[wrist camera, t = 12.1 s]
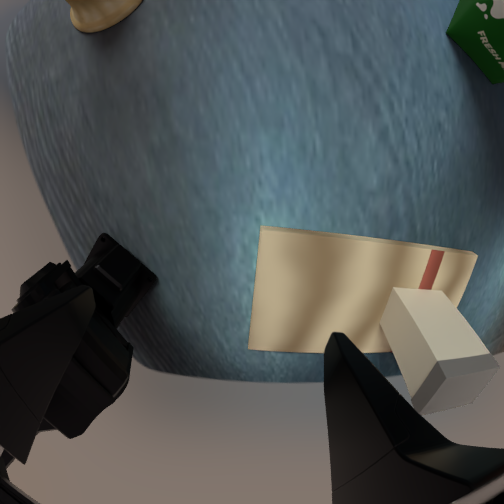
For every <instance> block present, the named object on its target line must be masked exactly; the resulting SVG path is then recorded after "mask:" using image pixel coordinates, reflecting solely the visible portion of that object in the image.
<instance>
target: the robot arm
mask: <svg viewBox="0 0 504 504" xmlns="http://www.w3.org/2000/svg"><path fill="white" fill-rule="evenodd" d="M103 237H104V238H105V240H106V241H105V240H104V239H103ZM70 266H71V265H70V264H69V262H68V260H66V261H65V262H64V263H63V264H61V263H58V264H57V265H56V264H54V263H51V262H49V263H48V264H47V265H46V266H44V267H43V268H42V269H41V270H39V271H38V272H37V273H35V274H34V275H33V276H32V277H30V278H29V279H28V280H26V281H25V282H24V283H23V284H22V285H21V287H20V297H19V298H18V299H17V302H18V303H17V304H16V305H15V306H14V307H13V309H12V311H13V314H10V315H8V316H5V317H3V318H0V504H40V503H38V502H37V501H36V500H34V499H33V498H31V497H29V496H28V495H27V494H25V493H24V492H23V491H22V490H20V489H19V488H18V487H16V486H15V485H14V484H12V483H11V482H10V480H9V477H8V474H7V470H6V469H7V468H8V466H9V465H10V464H11V463H12V462H13V461H14V459H15V458H16V459H17V460H19V461H20V462H21V463H23V464H25V463H26V461H27V458H28V455H29V452H30V450H31V446H32V444H33V442H34V439H35V436H36V435H37V434H38V433H39V432H43V431H50V430H59V431H60V432H61V433H62V434H63V435H65V436H66V437H67V438H69V439H71V438H74V437H77V436H79V435H82V434H83V433H84V432H85V430H86V429H87V428H88V426H89V425H90V424H91V423H92V421H93V420H94V419H95V418H96V417H97V416H98V415H99V414H100V413H101V412H102V411H103V410H104V409H105V408H106V407H108V406H110V405H111V404H113V403H114V402H115V400H116V399H117V398H118V397H119V396H120V395H121V394H122V393H123V391H124V390H125V388H126V386H127V384H128V381H129V375H130V368H131V361H132V354H133V346H132V345H131V344H130V343H129V342H127V341H126V340H125V339H124V338H123V336H122V335H121V334H120V333H119V332H118V331H117V327H118V326H119V324H120V323H121V321H122V320H123V318H124V317H127V316H128V315H129V314H130V312H131V311H132V310H133V309H134V307H135V306H136V305H137V304H138V302H139V301H140V300H141V299H142V297H143V296H144V295H145V294H146V292H147V291H148V290H149V289H150V287H151V286H152V285H153V284H154V282H155V281H156V275H155V274H154V273H152V272H151V271H150V270H149V269H148V268H146V267H145V266H144V265H143V264H142V263H140V261H138V260H137V259H136V258H135V257H134V256H133V255H131V254H130V253H129V252H128V251H127V250H126V249H124V248H123V247H122V246H121V245H119V244H118V243H117V242H116V241H115V240H114V239H112V238H111V237H110V236H109V235H108V234H107V233H102V234H101V235H100V236H99V237H98V239H97V241H96V243H95V245H94V246H93V248H92V250H91V252H90V254H89V256H88V258H87V259H86V261H85V263H84V265H83V266H82V267H81V268H80V269H78V270H77V271H76V272H75V273H74V272H73V270H72V269H71V267H70ZM149 277H151V278H152V280H151V279H149ZM324 395H325V405H326V415H327V426H328V436H329V450H330V464H331V481H332V504H504V449H499V448H486V447H476V446H467V445H460V444H456V443H454V442H451V441H450V440H448V439H447V438H445V437H444V436H443V435H442V434H441V433H440V432H439V431H438V430H436V429H435V428H434V427H433V426H432V425H431V424H430V423H429V422H428V421H426V420H425V419H424V418H423V417H422V416H421V415H420V414H419V413H418V412H417V411H416V410H415V409H414V408H413V407H412V406H411V405H410V404H409V403H408V402H407V401H406V400H405V399H404V398H403V397H402V395H401V394H400V395H399V392H398V391H397V390H396V389H395V388H394V387H393V386H392V385H391V383H390V382H388V380H387V379H386V378H385V377H384V376H383V375H382V374H381V373H380V371H379V370H378V369H377V368H376V367H375V366H374V365H373V364H372V363H371V362H370V361H369V359H368V358H367V357H366V356H365V355H364V354H363V353H362V352H361V351H360V350H359V349H358V348H357V347H356V345H355V344H354V343H353V342H352V341H351V340H350V339H349V338H348V337H347V336H346V335H345V334H344V333H342V332H332V333H331V335H330V337H329V340H328V342H327V344H326V347H325V350H324Z"/></svg>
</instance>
